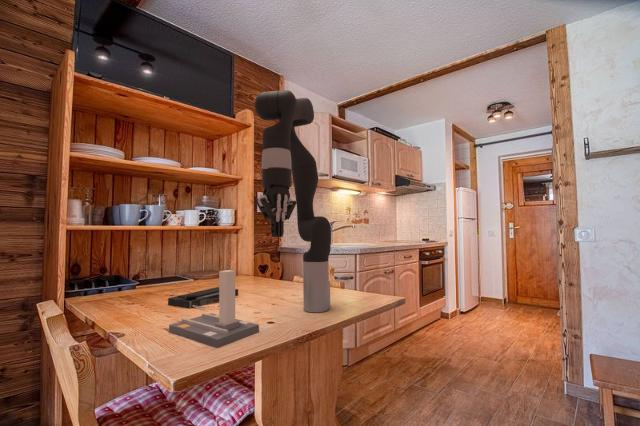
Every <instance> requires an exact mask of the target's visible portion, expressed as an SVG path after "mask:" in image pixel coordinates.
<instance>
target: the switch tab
mask: <svg viewBox="0 0 640 426" xmlns="http://www.w3.org/2000/svg"><path fill="white" fill-rule="evenodd" d="M218 274H219V275H218V276H219V277H218V279H219V280H218V285H219V286H218V287H219V302H218V308H219V309H218V311H219V312H218V315H219V322H218V323H215V327H219V328H222V329H226V330H231V329H234V328H237V327H239V321H237V320H235V319H236V296H235V289H236V270H234V269H233V270H230V269H226V270H219V273H218Z"/></svg>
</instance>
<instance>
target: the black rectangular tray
mask: <svg viewBox="0 0 640 426" xmlns="http://www.w3.org/2000/svg"><path fill="white" fill-rule="evenodd" d="M238 296H239V289H238V288H235V297H238ZM167 303H168V304H167V305H168V306H170V307H171V306H172V307H177V308H184V309H193V308H194V309H195V308H199V309H206V307H205V306H206V305H211V304H216V303H219V286H216V287H212V288H207V289H203V290H198V291H193V292H190V293H185V294H181V295H175V296H170V297H167Z"/></svg>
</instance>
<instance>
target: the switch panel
mask: <svg viewBox="0 0 640 426" xmlns="http://www.w3.org/2000/svg"><path fill="white" fill-rule="evenodd" d="M235 320H237V321H239V327H237V328H234V329H231V330H226V329H222V328H219V327H215V323H218V322H219V314H215V313H211V312H210V313H205V312H203V313H201V315H200V316H196V317H193V318H189V319H188V318H185V317H184V318H181V321H179V322H175V323H170V324H169V325H168V332H169V333H171V334H175V335H178V336H180V337H184V338H186V339H190V340H192V341H196V342H197V343H198V342H199V343H202V344H204V345H206V346H207V345H208V346H210V347H213V348H217V349H218V348H220V347H223V346H225V345H228V344H230V343H233V342H236V341H238V340H241V339H243V338H246V337H249V336H251V335H254V334H257V333H259V332H260V324H258V323H254V322H249V321H246V320H241V319H237V318H235Z"/></svg>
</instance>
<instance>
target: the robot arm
mask: <svg viewBox="0 0 640 426" xmlns="http://www.w3.org/2000/svg"><path fill="white" fill-rule="evenodd" d="M254 110H255V113H256V114H257V117H259V118H260V119H261V120H263V121H278V122H277V123H276V124H273V125H271V126H267V127H265V128H264V129H263V131H262V155H261V186H262V188H263V191H262V195H261V196H260V197H259V198H258V197H257V198H255V203H256V206H257V207H258V209H259V211H260V213H261V215H262V217H263V219H264V220H267V221H269V222H270V234H271V237H272V238H283V236H284V234H285V233H284V232H285V231H284V230H285V229H284V228H285V227H284V226H285V225H284V223H285V221H287V220H290V219H291V215H292V214H293V211H294V209H295V208H296V218H297V221H296V222H297V231H298V234H299V237H300V238H301V240H303V241H304V242H308V243H309V242H310V246H309V249H307V251H305V252H303V254H302V272H303V273H302V275H303V276H302V280H303V281H302V283H303V285H302V286H303V291H302V292H303V311H305V312H308V313H323V312H327V311H329V310H330V308H331V282H330V277H329V275H330V274H329V273H330V272H329V268H330V267H329V262H330V261H329V256H330V253H331V248H332V247H331V244H332V243H331V242H332V228H331V224H330V221H329V220H328V218H327V217H325V216H320V215H319V216H315V213H314V211H315V210H314V197H315V195H316V191H317V188H318V184H319V173H318V166H317V161H316V159H315V157H314V156H313V154H311V152H310V151H309V150H308V149H307V148H306V146H304V144H303V143H302V141H301V140H300V139H299V137H298V134H297V132H296V129H295V128H296V127H297V128H298V127H301V126H302V127H303V126H307V125H310V124H312V123H313V121H314V120H315V110H314V106H313V102H312V101H311V100H310V99H309V98H308V97H300V98H296V96H295V95H294V93H293V92H292V91H290V90H287V89H286V90H285V89H284V90H283V89H282V90H273V91H269V90H268V91H263V92H260V93H258V95H257V96H256V98H255V100H254ZM292 182H293V184H292ZM292 185H293V187H294V188H293V189H294V195H295V196H294V197H295V200H293V199H292V198H291V193H290V190H289V189H290V188H292Z"/></svg>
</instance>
